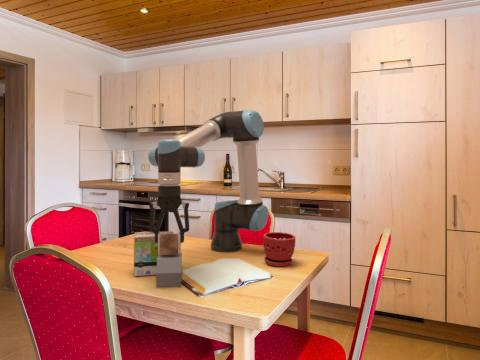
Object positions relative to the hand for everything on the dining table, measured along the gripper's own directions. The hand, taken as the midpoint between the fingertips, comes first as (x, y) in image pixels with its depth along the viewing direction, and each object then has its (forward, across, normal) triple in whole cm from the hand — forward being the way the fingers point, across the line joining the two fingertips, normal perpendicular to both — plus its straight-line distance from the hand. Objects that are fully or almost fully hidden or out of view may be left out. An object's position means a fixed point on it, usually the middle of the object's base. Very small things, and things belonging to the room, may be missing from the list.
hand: (169, 251), depth 126 cm
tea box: (+11, -8, +14) cm, 19 cm away
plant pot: (+11, +42, +22) cm, 49 cm away
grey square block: (+6, 0, 0) cm, 6 cm away
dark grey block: (+11, 0, 0) cm, 11 cm away
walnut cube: (0, 0, 0) cm, 0 cm away
